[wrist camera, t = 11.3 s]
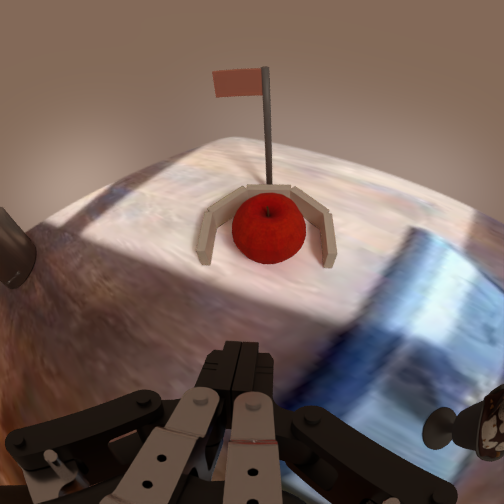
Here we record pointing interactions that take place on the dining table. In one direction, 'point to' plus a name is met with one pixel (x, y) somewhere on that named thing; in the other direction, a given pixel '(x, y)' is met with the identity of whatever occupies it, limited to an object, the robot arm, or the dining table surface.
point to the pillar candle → (15, 494)
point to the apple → (269, 228)
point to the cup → (226, 208)
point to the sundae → (470, 427)
